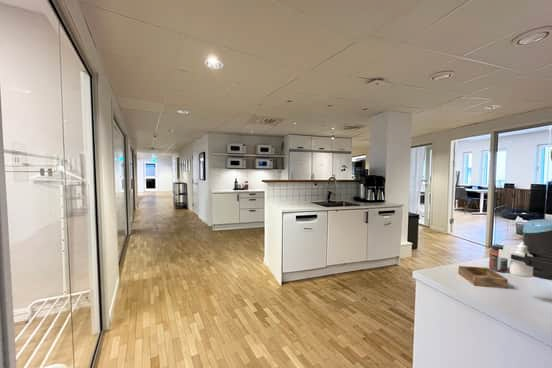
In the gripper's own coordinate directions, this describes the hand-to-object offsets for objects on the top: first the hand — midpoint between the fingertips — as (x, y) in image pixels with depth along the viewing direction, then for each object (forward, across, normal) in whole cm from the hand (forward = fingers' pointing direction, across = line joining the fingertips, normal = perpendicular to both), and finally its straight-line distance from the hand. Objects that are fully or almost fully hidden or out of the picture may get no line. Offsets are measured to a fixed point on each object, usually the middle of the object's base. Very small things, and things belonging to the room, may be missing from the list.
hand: (501, 251), depth 86 cm
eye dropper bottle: (-5, 0, -7) cm, 9 cm away
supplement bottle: (+6, +24, -16) cm, 29 cm away
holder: (+7, +5, -15) cm, 17 cm away
